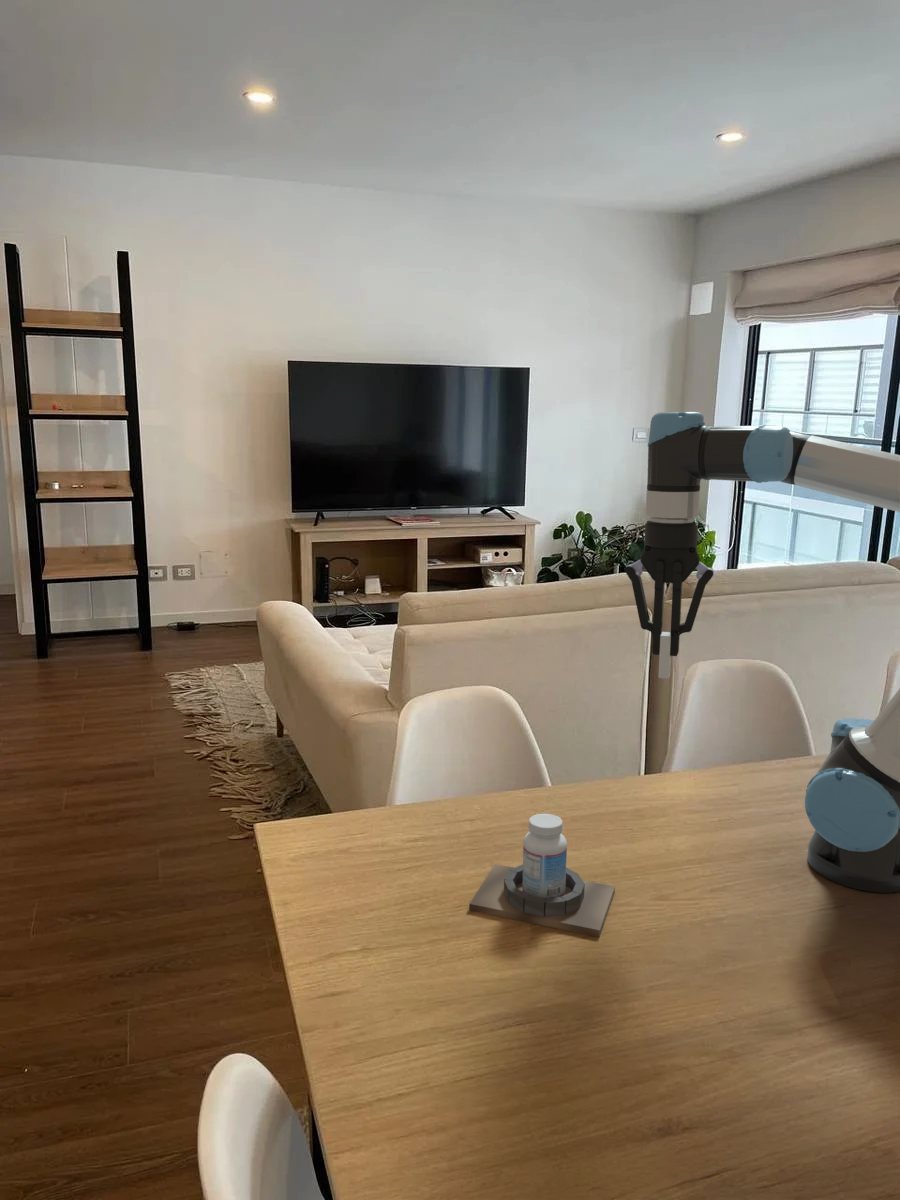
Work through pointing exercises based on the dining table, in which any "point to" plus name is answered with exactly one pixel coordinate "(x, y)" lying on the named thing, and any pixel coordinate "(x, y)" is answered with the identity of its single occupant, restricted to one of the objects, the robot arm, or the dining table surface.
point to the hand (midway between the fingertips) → (664, 675)
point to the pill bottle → (544, 857)
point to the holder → (545, 901)
